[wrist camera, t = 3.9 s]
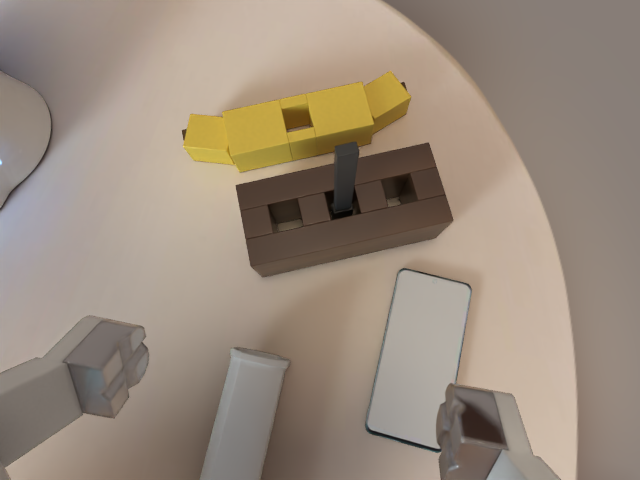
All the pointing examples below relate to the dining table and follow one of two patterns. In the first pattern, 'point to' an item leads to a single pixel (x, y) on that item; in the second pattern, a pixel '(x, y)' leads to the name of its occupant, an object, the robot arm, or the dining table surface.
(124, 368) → the robot arm
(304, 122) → the banana
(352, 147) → the dark grey stepped rod
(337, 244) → the cutlery block
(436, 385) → the smartphone
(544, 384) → the dining table surface
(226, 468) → the tube
